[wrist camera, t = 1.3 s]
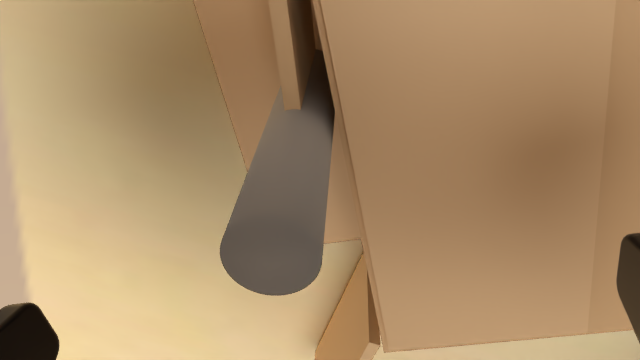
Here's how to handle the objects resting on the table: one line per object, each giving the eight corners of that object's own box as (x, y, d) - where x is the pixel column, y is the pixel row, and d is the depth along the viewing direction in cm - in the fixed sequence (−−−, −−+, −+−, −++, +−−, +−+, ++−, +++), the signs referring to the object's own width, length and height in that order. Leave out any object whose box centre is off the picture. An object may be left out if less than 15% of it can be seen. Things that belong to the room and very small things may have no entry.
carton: (704, 310, 22) (817, 445, 17) (304, 348, 25) (291, 474, 20) (844, -262, 13) (1213, -377, 7) (165, -95, 15) (62, -87, 10)
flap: (340, 98, 18) (326, 295, 9) (290, 101, 18) (231, 298, 9) (321, -125, 14) (271, -146, 6) (260, -117, 14) (121, -127, 6)
